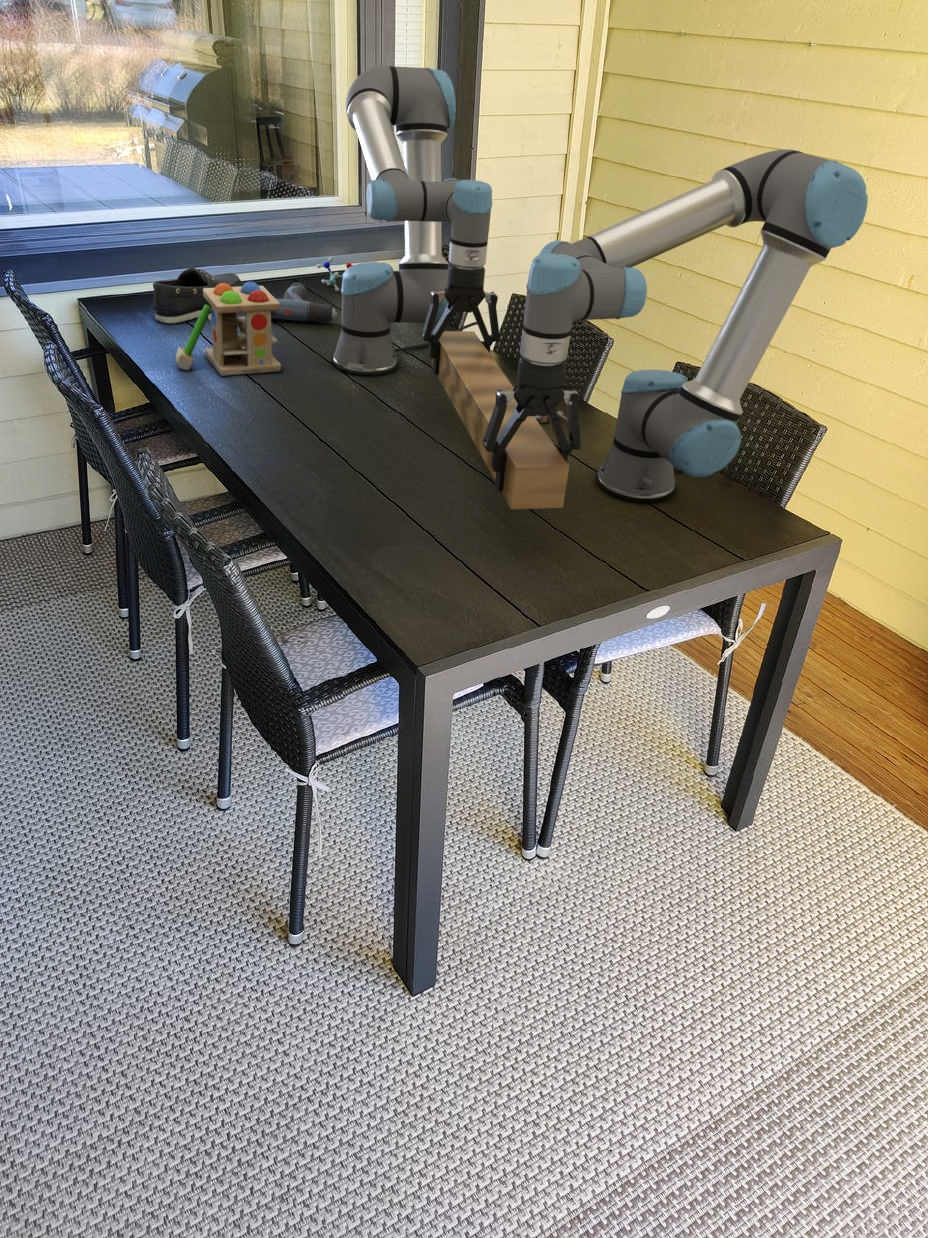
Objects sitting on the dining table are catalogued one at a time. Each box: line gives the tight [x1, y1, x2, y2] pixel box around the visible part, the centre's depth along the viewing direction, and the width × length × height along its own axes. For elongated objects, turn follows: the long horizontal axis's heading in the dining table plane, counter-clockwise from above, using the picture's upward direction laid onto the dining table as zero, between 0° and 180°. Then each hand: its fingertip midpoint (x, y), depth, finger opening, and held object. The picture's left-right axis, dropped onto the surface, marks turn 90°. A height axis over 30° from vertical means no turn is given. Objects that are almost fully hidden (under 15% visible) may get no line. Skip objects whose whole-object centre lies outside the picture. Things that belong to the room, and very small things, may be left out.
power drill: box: [271, 282, 338, 322], centre depth 265 cm, size 5×19×20 cm
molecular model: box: [316, 256, 354, 293], centre depth 287 cm, size 12×10×10 cm
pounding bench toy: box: [174, 281, 282, 377], centre depth 225 cm, size 23×14×18 cm, turn 116°
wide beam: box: [430, 330, 570, 510], centre depth 187 cm, size 67×9×8 cm, turn 13°
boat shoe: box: [152, 267, 243, 324], centre depth 261 cm, size 13×33×10 cm, turn 147°
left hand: (457, 372), depth 210 cm, fingers closed on wide beam, 9 cm apart
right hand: (526, 486), depth 167 cm, fingers closed on wide beam, 9 cm apart
